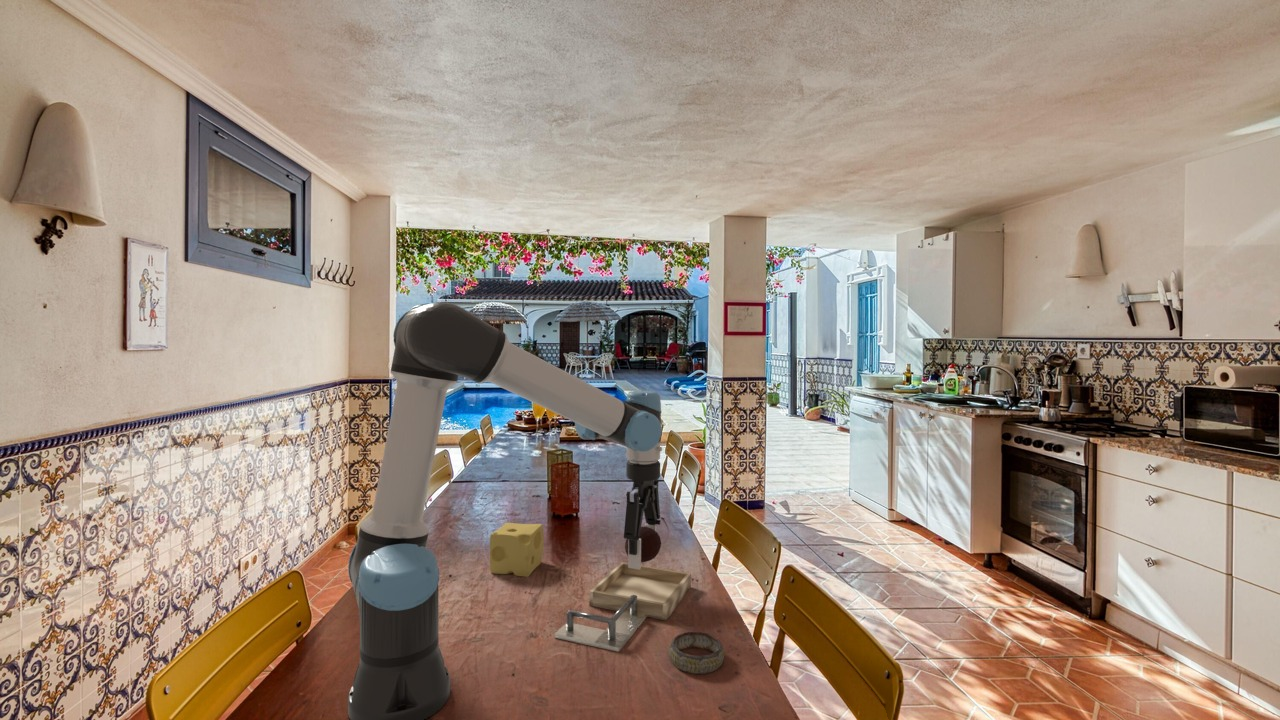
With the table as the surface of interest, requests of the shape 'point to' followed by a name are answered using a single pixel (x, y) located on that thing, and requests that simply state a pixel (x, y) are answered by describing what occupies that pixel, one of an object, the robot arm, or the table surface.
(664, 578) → the tray
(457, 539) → the table surface
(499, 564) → the cheese
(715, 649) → the decorative ring
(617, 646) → the corner grab bar
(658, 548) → the dark brown ball
